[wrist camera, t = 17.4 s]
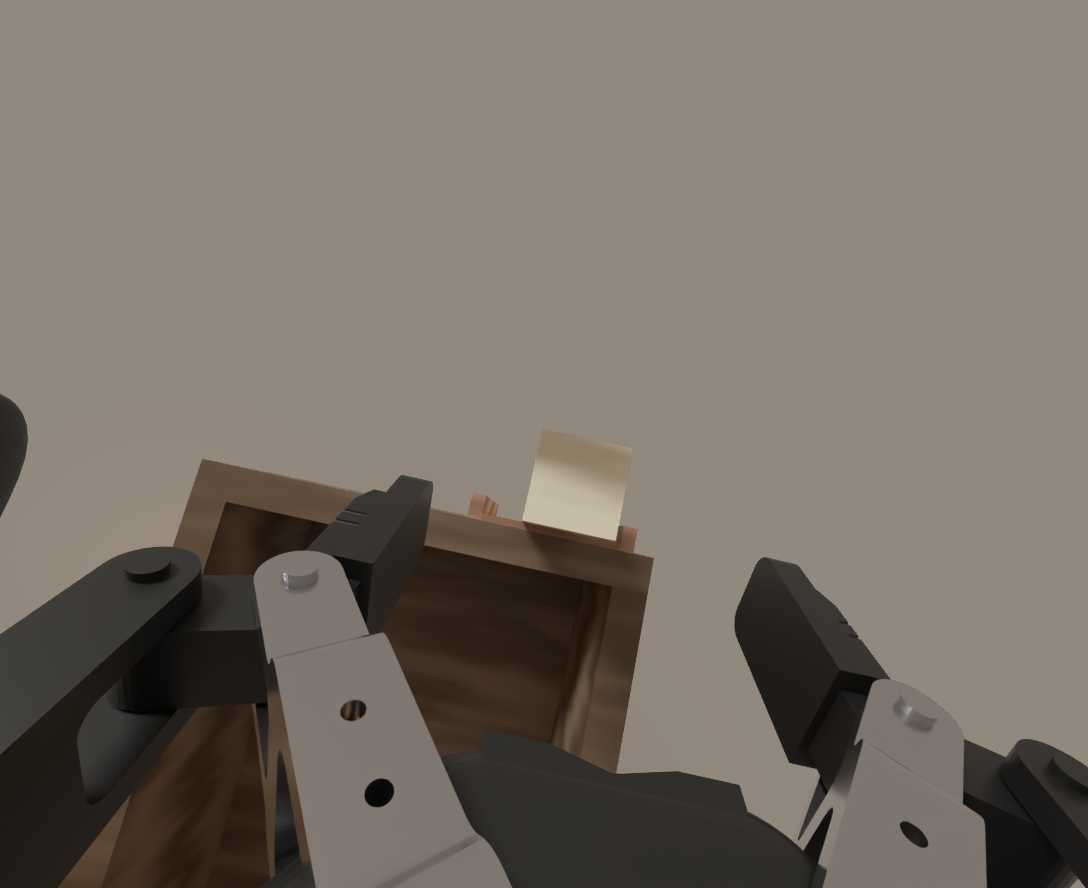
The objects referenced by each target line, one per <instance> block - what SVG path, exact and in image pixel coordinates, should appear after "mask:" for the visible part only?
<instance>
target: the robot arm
mask: <svg viewBox="0 0 1088 888" xmlns="http://www.w3.org/2000/svg"><path fill="white" fill-rule="evenodd" d="M27 442H28V435H27V425H26V422H25V419H24V416H23V414H22V412H21V410H20V409H19V408H18V407H17V405H16V404H15V403H14V402H12V401H11V400H10V399H8V398H6V397H5V396H3V395H1V394H0V516H1V515H2V513H3V511H4V508H5V506H6V504H7V502H8V500H9V498H10V496H11V494H12V492H13V489H14V487H15V485H16V482H17V480H18V478H19V475H20V472H21V469H22V466H23V463H24V460H25V455H26V449H27ZM432 492H433V483H432V482H431V481H427V480H423V479H418V478H414V477H409V476H404V475H401V476H400V477H399V478H398V479H397V480H396V481H395V483H394V484H393V485H392V486H391V487H390V488H389V490H388V491H387V492H383V491H378V490H372V491H370V492H367V493H365V494H363V495H360V496H358V497H356V498H355V499H354V500H353V501H352V502H351V503H350V504H349V505H348V506H347V507H346V508H345V511H342V512H341V513H340V514H339V515H338V516H337V518H336V520H335V521H333V522H332V523H331V524H330V525H329V526H328V527H327V528H326V529H325V530H324V531H323V532H322V533H321V534H320V535H319V536H318V537H317V538H316V539H315V540H314V541H313V542H312V543H311V544H310V545H309V547H308V548H307V549H306V550H305V551H293V552H288V553H284V554H280V555H278V556H275V557H273V558H271V559H269V560H267V561H266V562H264V563H263V564H262V565H261V566H260V567H259V568H258V569H257V571H256V572H255V575H242V576H232V575H202V569H201V561H200V559H199V557H198V556H197V555H196V554H194V553H192V552H191V551H188V550H185V549H181V548H176V547H151V548H143V549H139V550H134V551H131V552H127V553H124V554H121V555H119V556H116V557H114V558H112V559H110V560H108V561H107V562H105V563H103V564H102V565H101V566H99V567H98V568H96V569H95V570H93V571H92V572H90V573H89V574H87V575H86V576H84V577H83V578H81V579H80V580H79V581H77V582H76V583H74V584H73V585H71V586H70V587H69V588H67V589H65V590H64V591H63V592H61V593H60V594H58V595H57V596H55V597H54V598H52V599H51V600H50V601H48V602H47V603H45V604H44V605H42V606H41V607H40V608H38V609H36V610H35V611H33V612H32V613H31V614H29V615H28V616H26V617H25V618H24V619H22V620H21V621H19V622H17V623H16V624H15V625H13V626H12V627H10V628H9V629H7V630H6V631H4V632H3V633H1V634H0V888H58V887H59V885H60V884H61V883H62V882H63V880H64V879H65V878H66V876H67V875H68V874H69V873H70V871H71V870H72V869H73V867H74V866H75V865H76V864H77V862H78V861H79V860H80V858H81V857H82V856H83V855H84V853H85V852H86V851H87V849H88V848H89V847H90V846H91V844H92V843H93V842H94V840H95V839H96V838H97V837H98V835H99V834H100V833H101V832H102V830H103V829H104V828H105V826H106V825H107V824H108V823H109V821H110V820H111V819H112V817H113V816H114V815H115V814H116V812H117V811H118V810H119V808H120V807H121V806H122V805H123V803H124V802H125V801H126V799H127V798H128V797H129V796H130V794H131V793H132V792H133V790H134V789H135V788H136V787H137V785H138V784H139V783H140V781H141V780H142V779H143V778H144V776H145V775H146V774H147V773H148V771H149V770H150V769H151V767H152V766H153V765H154V764H155V762H156V761H157V760H158V758H159V757H160V756H161V755H162V753H163V752H164V751H165V749H166V748H167V747H168V746H169V744H170V743H171V742H172V740H173V739H174V738H175V737H176V735H177V734H178V733H179V731H180V730H181V729H182V728H183V726H184V725H185V724H186V722H187V721H188V720H189V719H190V717H191V716H192V715H193V714H194V712H195V711H196V710H197V708H200V707H214V706H228V705H242V704H252V707H253V714H254V722H255V730H256V738H257V746H258V754H259V761H260V769H261V777H262V785H263V793H264V802H265V817H266V838H267V851H268V862H269V871H270V880H268V881H267V882H266V883H264V884H263V885H262V886H261V887H259V888H1070V887H1071V886H1072V885H1073V884H1074V883H1075V882H1076V881H1077V880H1078V879H1079V880H1080V881H1081V882H1082V884H1083V885H1084V886H1085V887H1086V888H1088V767H1087V766H1085V765H1084V764H1082V763H1081V762H1079V761H1078V760H1076V759H1074V758H1073V757H1071V756H1069V755H1068V754H1066V753H1064V752H1062V751H1060V750H1058V749H1056V748H1054V747H1052V746H1050V745H1047V744H1045V743H1042V742H1039V741H1035V740H1031V739H1023V740H1019V741H1018V742H1017V743H1016V745H1015V746H1014V747H1013V749H1012V750H1011V751H1010V752H1009V754H1008V755H1007V756H1006V757H1004V756H1002V755H999V754H997V753H995V752H992V751H990V750H988V749H986V748H983V747H981V746H979V745H977V744H974V743H972V742H970V741H967V740H965V739H964V736H963V733H962V731H961V729H960V727H959V726H958V724H957V723H956V721H955V720H954V719H953V718H952V717H951V716H950V715H949V714H948V712H947V711H945V710H944V709H943V708H942V707H941V706H940V705H939V704H937V703H936V702H935V701H933V700H932V699H930V698H929V697H928V696H926V695H925V694H923V693H921V692H920V691H918V690H916V689H914V688H912V687H910V686H908V685H906V684H903V683H900V682H897V681H894V680H891V679H890V678H889V677H888V675H887V674H886V673H885V671H884V670H883V669H882V668H881V666H880V665H879V663H878V662H877V661H876V660H875V658H874V657H873V655H872V654H871V653H870V651H869V650H868V649H867V647H866V646H865V645H864V643H863V642H862V641H861V640H860V639H858V635H857V634H856V633H855V631H854V630H853V629H852V627H851V626H849V625H847V624H848V622H847V620H846V619H845V618H844V616H843V615H842V614H841V612H840V611H839V610H838V608H837V607H836V606H835V605H834V604H833V603H832V602H830V601H829V600H828V599H827V598H825V597H824V596H823V595H822V594H821V593H820V592H818V591H817V590H816V589H815V588H814V587H813V585H812V584H811V583H810V581H809V580H808V578H807V577H806V576H805V574H804V573H803V571H802V570H801V569H800V567H799V566H798V565H796V564H793V563H788V562H784V561H779V560H775V559H770V558H766V557H764V558H761V559H760V560H759V561H758V562H757V564H756V566H755V568H754V571H753V573H752V575H751V578H750V580H749V583H748V585H747V587H746V589H745V592H744V594H743V596H742V599H741V601H740V603H739V606H738V608H737V611H736V615H735V633H736V637H737V639H738V642H739V644H740V647H741V649H742V651H743V653H744V656H745V658H746V661H747V663H748V666H749V668H750V670H751V672H752V675H753V678H754V680H755V682H756V684H757V687H758V689H759V692H760V694H761V697H762V699H763V701H764V704H765V706H766V708H767V711H768V713H769V716H770V718H771V720H772V723H773V725H774V728H775V730H776V732H777V735H778V737H779V739H780V742H781V744H782V747H783V749H784V752H785V754H786V756H787V758H788V761H789V763H792V764H797V765H801V766H806V767H810V768H815V769H817V770H818V772H819V774H820V775H819V777H818V779H817V780H816V782H815V784H814V785H813V787H812V789H811V792H810V795H809V797H808V800H807V803H806V805H805V808H804V811H803V813H802V816H801V819H800V822H799V824H798V827H797V830H796V832H795V835H794V838H793V841H792V840H791V839H789V838H788V837H787V836H786V835H784V834H783V833H782V832H780V831H779V830H777V829H776V828H775V827H773V826H772V825H770V824H769V823H767V822H765V821H764V820H762V819H760V818H759V817H757V816H755V815H753V814H751V813H749V812H747V809H746V805H745V802H744V799H743V795H742V792H741V789H740V786H739V785H737V784H732V783H728V782H723V781H718V780H714V779H709V778H705V777H701V776H696V775H691V774H687V773H682V772H678V771H674V772H651V773H629V774H616V773H612V772H609V771H606V770H604V769H602V768H600V767H598V766H596V765H594V764H592V763H590V762H588V761H585V760H583V759H581V758H579V757H577V756H575V755H573V754H571V753H569V752H567V751H565V750H562V749H560V748H558V747H556V746H554V745H552V744H550V743H547V742H542V741H538V740H533V739H529V738H524V737H520V736H515V735H511V734H506V733H502V732H497V731H493V730H488V729H486V731H485V736H484V740H483V744H482V748H481V751H468V752H462V753H456V754H451V755H448V756H444V757H441V758H440V756H439V754H438V751H437V749H436V747H435V745H434V742H433V740H432V738H431V735H430V733H429V731H428V729H427V726H426V724H425V722H424V720H423V717H422V715H421V713H420V710H419V708H418V706H417V704H416V701H415V699H414V697H413V694H412V692H411V690H410V688H409V685H408V683H407V681H406V678H405V676H404V674H403V672H402V669H401V667H400V665H399V662H398V660H397V658H396V656H395V653H394V651H393V649H392V646H391V644H390V642H389V640H388V638H387V636H386V635H385V634H384V633H383V632H381V630H382V629H383V627H384V625H385V623H386V621H387V619H388V618H389V616H390V614H391V612H392V610H393V608H394V607H395V605H396V603H397V601H398V599H399V597H400V596H401V594H402V592H403V590H404V588H405V586H406V585H407V583H408V581H409V579H410V577H411V575H412V574H413V572H414V570H415V568H416V566H417V564H418V562H419V560H420V557H421V554H422V551H423V548H424V544H425V539H426V532H427V526H428V519H429V512H430V505H431V499H432Z"/></svg>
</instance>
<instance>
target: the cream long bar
mask: <svg viewBox="0 0 1088 888" xmlns="http://www.w3.org/2000/svg"><path fill="white" fill-rule="evenodd" d="M632 452H633V449H631V448H627V447H622V446H617V445H613V444H609V443H604V442H600V441H595V440H591V439H585V438H582V437H577V436H573V435H568V434H564V433H559V432H555V431H550V430H545V429H543V430H542V434H541V439H540V444H539V448H538V452H537V457H536V461H535V466H534V470H533V475H532V479H531V484H530V488H529V493H528V497H527V502H526V506H525V511H524V515H523V521H522V522H525V523H529V524H534V525H538V526H543V527H547V528H552V529H556V530H561V531H566V532H570V533H575V534H579V535H584V536H590V537H595V538H601V539H607V540H613V541H616V537H617V531H618V526H619V521H620V515H621V510H622V505H623V500H624V494H625V489H626V484H627V478H628V473H629V468H630V462H631V457H632Z"/></svg>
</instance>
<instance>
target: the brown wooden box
mask: <svg viewBox="0 0 1088 888" xmlns="http://www.w3.org/2000/svg"><path fill="white" fill-rule="evenodd" d="M363 494H365V493H362V492H357V491H352V490H348V489H343V488H339V487H334V486H330V485H325V484H321V483H316V482H311V481H307V480H302V479H297V478H292V477H287V476H283V475H278V474H273V473H268V472H263V471H258V470H254V469H248V468H243V467H239V466H234V465H229V464H224V463H219V462H214V461H210V460H205V459H202V461H201V464H200V467H199V470H198V473H197V476H196V479H195V482H194V485H193V488H192V491H191V494H190V497H189V500H188V503H187V506H186V509H185V512H184V515H183V518H182V521H181V524H180V527H179V530H178V533H177V536H176V539H175V541H174V545H173V547H176V548H181V549H185V550H188V551H191V552H192V553H194V554H196V555H197V556H198V557H199V559H200V561H201V569H202V575H232V576H242V575H255V572H256V571H257V569H258V568H259V567H260V566H261V565H262V564H263V563H264V562H266V561H267V560H269V559H271V558H273V557H275V556H278V555H280V554H284V553H288V552H293V551H305V550H306V549H307V548H308V547H309V545H310V544H311V543H312V542H313V541H314V540H315V539H316V538H317V537H318V536H319V535H320V534H321V533H322V532H323V531H324V530H325V529H326V528H327V527H328V526H329V525H330V524H331V523H332V522H333V521H335V520H336V518H337V516H338V515H339V514H340V513H341V512H342V511H345V508H346V507H347V506H348V505H349V504H350V503H351V502H352V501H353V500H354V499H355V498H356V497H358V496H360V495H363ZM497 509H498V505H497V504H496V503H495V502H494V501H492V500H491V499H490V498H488V497H487V496H485V495H480V494H475V493H473V494H472V498H471V502H470V507H469V510H468V515H467V516H466V515H462V514H457V513H452V512H448V511H443V510H439V509H434V508H430V512H429V519H428V526H427V532H426V539H425V544H424V548H423V551H422V554H421V557H420V560H419V562H418V564H417V566H416V568H415V570H414V572H413V574H412V575H411V577H410V579H409V581H408V583H407V585H406V586H405V588H404V590H403V592H402V594H401V596H400V597H399V599H398V601H397V603H396V605H395V607H394V608H393V610H392V612H391V614H390V616H389V618H388V619H387V621H386V623H385V625H384V627H383V629H382V630H381V632H383V633H384V634H385V635H386V636H387V638H388V640H389V642H390V644H391V646H392V649H393V651H394V653H395V656H396V658H397V660H398V662H399V665H400V667H401V669H402V672H403V674H404V676H405V678H406V681H407V683H408V685H409V688H410V690H411V692H412V694H413V697H414V699H415V701H416V704H417V706H418V708H419V710H420V713H421V715H422V717H423V720H424V722H425V724H426V726H427V729H428V731H429V733H430V735H431V738H432V740H433V742H434V745H435V747H436V749H437V751H438V754H439V756H440V758H441V757H444V756H448V755H451V754H456V753H462V752H468V751H481V748H482V744H483V740H484V736H485V731H486V729H488V730H493V731H497V732H502V733H506V734H511V735H515V736H520V737H524V738H529V739H533V740H538V741H542V742H547V743H550V744H552V745H554V746H556V747H558V748H560V749H562V750H565V751H567V752H569V753H571V754H573V755H575V756H577V757H579V758H581V759H583V760H585V761H588V762H590V763H592V764H594V765H596V766H598V767H600V768H602V769H604V770H606V771H609V772H612V773H616V771H617V765H618V759H619V753H620V748H621V742H622V737H623V731H624V725H625V719H626V713H627V708H628V702H629V697H630V691H631V685H632V679H633V674H634V668H635V662H636V657H637V651H638V645H639V640H640V634H641V628H642V622H643V617H644V611H645V605H646V600H647V594H648V588H649V583H650V577H651V571H652V565H653V560H654V558H651V557H647V556H643V555H639V554H635V553H633V551H634V546H635V540H636V535H637V529H635V528H630V527H626V526H618V531H617V537H616V541H613V540H607V539H601V538H595V537H590V536H589V537H588V536H584V535H579V534H575V533H570V532H566V531H561V530H556V529H552V528H547V527H543V526H538V525H534V524H529V523H525V522H520V521H516V520H511V519H506V518H502V517H497V516H496V513H497ZM268 880H270V871H269V862H268V851H267V838H266V817H265V802H264V793H263V785H262V777H261V769H260V761H259V754H258V746H257V738H256V730H255V722H254V714H253V707H252V704H242V705H228V706H214V707H200V708H197V710H196V711H195V712H194V714H193V715H192V716H191V717H190V719H189V720H188V721H187V722H186V724H185V725H184V726H183V728H182V729H181V730H180V731H179V733H178V734H177V735H176V737H175V738H174V739H173V740H172V742H171V743H170V744H169V746H168V747H167V748H166V749H165V751H164V752H163V753H162V755H161V756H160V757H159V758H158V760H157V761H156V762H155V764H154V765H153V766H152V767H151V769H150V770H149V771H148V773H147V774H146V775H145V776H144V778H143V779H142V780H141V781H140V783H139V784H138V785H137V787H136V788H135V789H134V790H133V792H132V793H131V794H130V796H129V797H128V798H127V799H126V801H125V802H124V803H123V805H122V806H121V807H120V808H119V810H118V811H117V812H116V814H115V815H114V816H113V817H112V819H111V820H110V821H109V823H108V824H107V825H106V826H105V828H104V829H103V830H102V832H101V833H100V834H99V835H98V837H97V838H96V839H95V840H94V842H93V843H92V844H91V846H90V847H89V848H88V849H87V851H86V852H85V853H84V855H83V856H82V857H81V858H80V860H79V861H78V862H77V864H76V865H75V866H74V867H73V869H72V870H71V871H70V873H69V874H68V875H67V876H66V878H65V879H64V880H63V882H62V883H61V884H60V885H59V887H58V888H259V887H261V886H262V885H263V884H264V883H266V882H267V881H268Z"/></svg>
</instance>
